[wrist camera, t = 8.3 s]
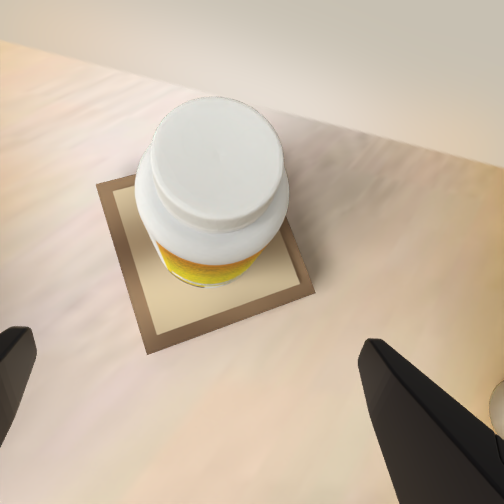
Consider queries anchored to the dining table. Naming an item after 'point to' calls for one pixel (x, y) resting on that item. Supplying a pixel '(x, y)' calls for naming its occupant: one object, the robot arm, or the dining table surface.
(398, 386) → the robot arm
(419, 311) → the dining table surface
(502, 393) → the white rounded knob
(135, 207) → the tan flat square block
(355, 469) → the dining table surface
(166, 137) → the supplement bottle
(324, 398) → the dining table surface
